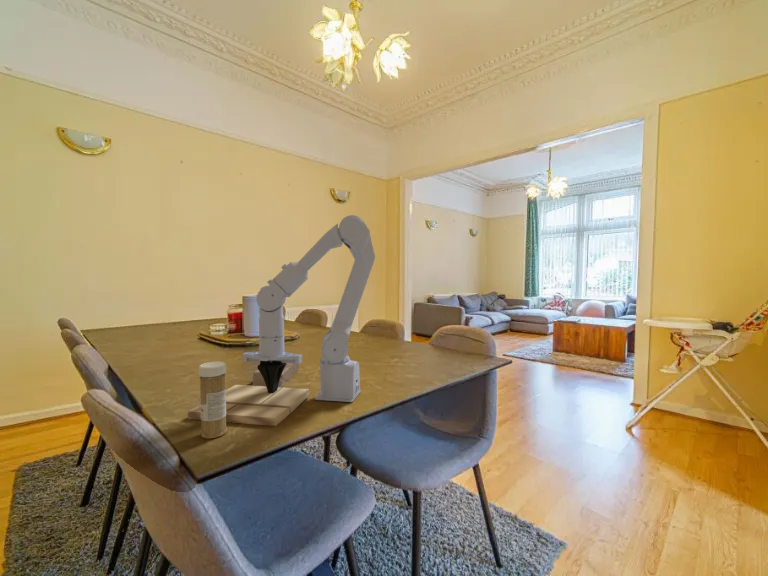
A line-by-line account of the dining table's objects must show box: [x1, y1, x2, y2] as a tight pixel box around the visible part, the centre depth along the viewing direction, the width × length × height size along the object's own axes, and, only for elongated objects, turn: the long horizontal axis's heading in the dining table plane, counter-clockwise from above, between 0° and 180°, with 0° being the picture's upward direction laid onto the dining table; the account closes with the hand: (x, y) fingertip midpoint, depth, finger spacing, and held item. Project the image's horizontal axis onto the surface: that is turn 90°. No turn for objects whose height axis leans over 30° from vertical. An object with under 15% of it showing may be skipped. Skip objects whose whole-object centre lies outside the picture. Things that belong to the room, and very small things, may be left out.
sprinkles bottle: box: [198, 360, 228, 439], centre depth 65 cm, size 5×5×14 cm
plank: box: [226, 384, 310, 414], centre depth 81 cm, size 20×10×2 cm, turn 79°
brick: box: [252, 363, 300, 387], centre depth 100 cm, size 17×8×5 cm, turn 177°
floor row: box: [187, 402, 291, 427], centre depth 73 cm, size 20×6×2 cm, turn 79°
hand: (272, 391), depth 83 cm, fingers closed, pressing on plank
